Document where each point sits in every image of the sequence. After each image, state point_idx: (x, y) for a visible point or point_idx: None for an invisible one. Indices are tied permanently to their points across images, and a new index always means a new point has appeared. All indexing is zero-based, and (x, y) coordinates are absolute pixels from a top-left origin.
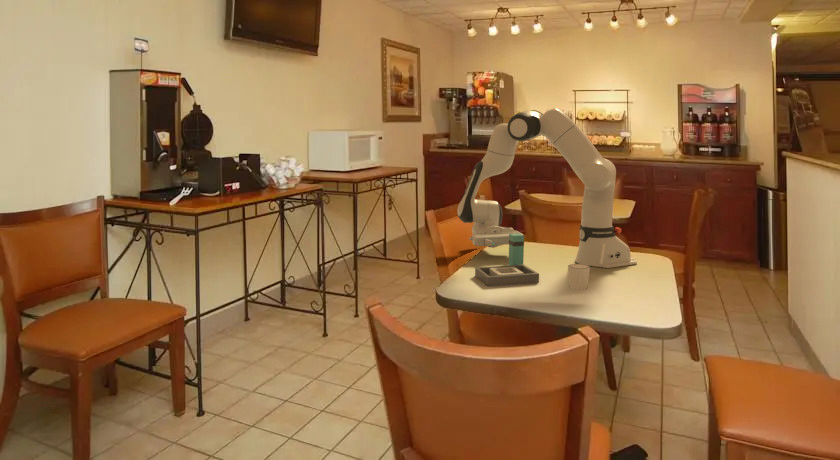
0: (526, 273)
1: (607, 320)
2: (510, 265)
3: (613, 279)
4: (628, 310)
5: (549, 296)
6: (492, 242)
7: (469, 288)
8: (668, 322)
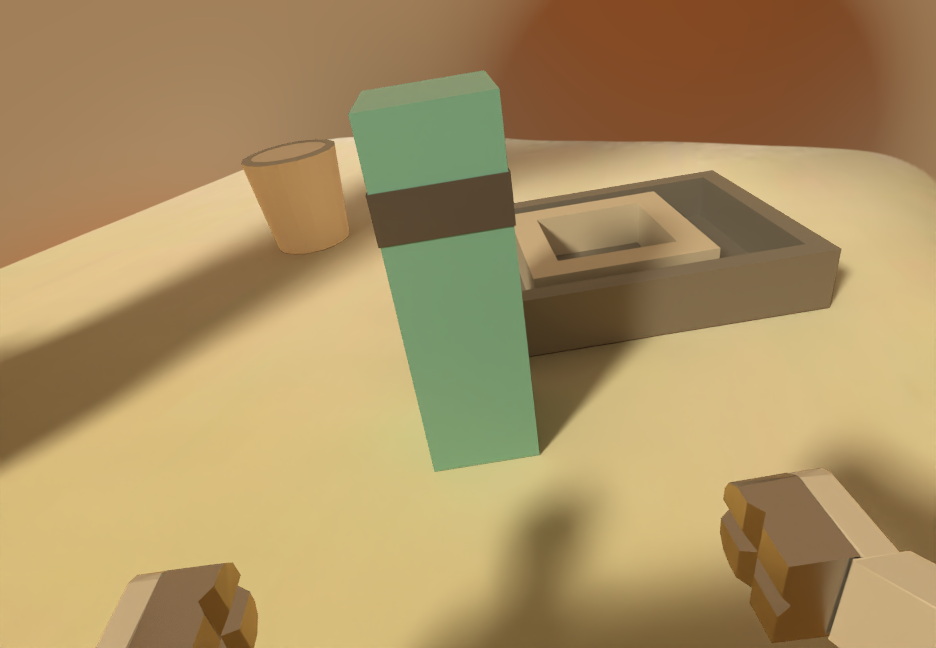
0: None
1: None
2: (551, 294)
3: (84, 302)
4: None
5: None
6: (780, 475)
7: (799, 195)
8: None
